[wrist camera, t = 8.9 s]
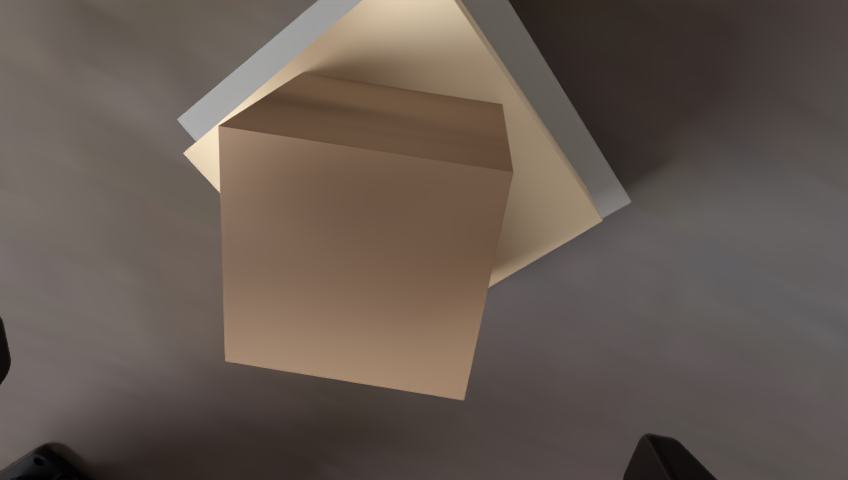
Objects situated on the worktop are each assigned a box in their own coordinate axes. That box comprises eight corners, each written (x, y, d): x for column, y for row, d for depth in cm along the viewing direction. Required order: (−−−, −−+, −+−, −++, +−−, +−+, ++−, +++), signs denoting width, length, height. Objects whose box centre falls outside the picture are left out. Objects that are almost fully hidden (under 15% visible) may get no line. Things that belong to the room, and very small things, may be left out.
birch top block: (383, 311, 20) (371, 355, 18) (220, 128, 17) (183, 153, 15) (586, 187, 17) (602, 220, 15) (428, -48, 15) (420, -50, 13)
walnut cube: (468, 278, 16) (463, 400, 12) (294, 250, 16) (225, 361, 12) (502, 104, 14) (513, 172, 9) (301, 72, 14) (218, 126, 10)
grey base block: (386, 308, 23) (376, 345, 21) (211, 101, 20) (176, 119, 17) (614, 174, 20) (631, 201, 17) (448, -97, 17) (443, -106, 14)
